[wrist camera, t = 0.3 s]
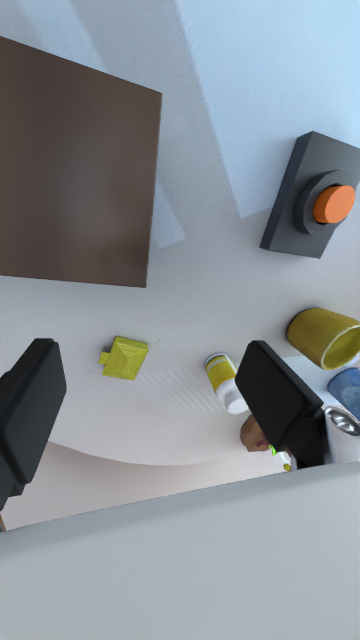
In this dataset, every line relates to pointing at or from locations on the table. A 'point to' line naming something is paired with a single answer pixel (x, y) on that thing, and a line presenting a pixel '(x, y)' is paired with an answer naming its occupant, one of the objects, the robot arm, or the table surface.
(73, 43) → the table surface
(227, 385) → the supplement bottle
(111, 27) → the table surface
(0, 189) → the cabinet
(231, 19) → the table surface
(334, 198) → the button
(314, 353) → the mug
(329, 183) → the control block
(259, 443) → the plant
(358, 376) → the bottle
